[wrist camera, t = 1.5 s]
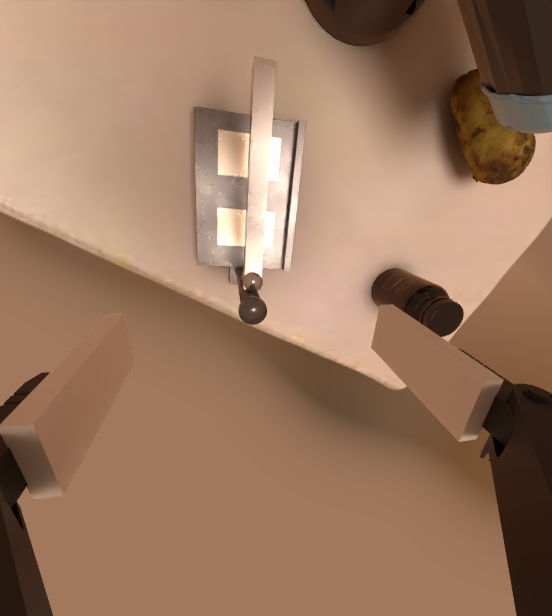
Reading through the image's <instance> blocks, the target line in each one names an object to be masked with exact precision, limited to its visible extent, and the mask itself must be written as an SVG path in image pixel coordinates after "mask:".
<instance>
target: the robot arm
mask: <svg viewBox="0 0 552 616" xmlns="http://www.w3.org/2000/svg"><path fill="white" fill-rule="evenodd" d="M306 2H307V4H308V6H309V8H310V10H311V12H312V13H313V15H314V16H315V18H316V19H317V21H318V22H319V23H320V24H321V26H322V27H323V28H324V29H325V30H326V31H327V32H328V33H330V34H331V35H332V36H334V37H335V38H337V39H338V40H340V41H342V42H345V43H347V44H351V45H356V46H367V45H372V44H376V43H379V42H381V41H383V40H385V39H387V38H389V37H390V36H392V35H393V34H394V33H396V32H397V31H398V30H399V29H400V28H401V27H402V26H403V25H404V24H405V23H407V22H408V21H409V20H410V19H411V18H412V17H413V16H414V14H415V13H416V12H417V11H418V10H419V8H420V7H421V6H422V4H423V3H424V2H425V0H306ZM457 2H458V5H459V9H460V12H461V15H462V18H463V21H464V24H465V28H466V31H467V34H468V37H469V40H470V44H471V47H472V51H473V54H474V58H475V61H476V64H477V68H478V71H479V75H480V86H481V90H482V91H483V93H484V94H485V95H486V96H488V99H489V101H490V104H491V107H492V109H493V112H494V114H495V117H496V119H497V121H498V122H499V124H501V125H502V126H503V127H504V128H506V129H509V130H512V131H518V132H520V133H547V132H552V0H457ZM371 348H372V349H373V350H374V351H375V352H376V353H377V354H378V355H379V356H380V357H381V359H382V360H383V361H384V362H385V363H386V364H387V365H388V366H389V367H390V368H391V369H392V370H393V371H394V372H395V374H396V375H397V376H398V377H399V378H400V379H401V380H402V381H403V382H404V383H405V384H406V385H407V386H408V387H409V389H410V390H411V391H412V392H413V393H414V394H415V395H416V396H417V397H418V398H419V399H420V400H421V401H422V403H423V404H424V405H425V406H426V407H427V408H428V409H429V410H430V411H431V412H432V413H433V414H434V415H435V417H436V418H437V419H438V420H439V421H440V422H441V423H442V424H443V425H444V426H445V427H446V428H447V429H448V431H450V433H451V434H452V435H453V436H454V437H455V438H456V439H457V440H458V441H459V442H460V441H467V440H474V439H477V437H478V435H479V433H480V431H481V428H482V427H484V428H485V429H486V430H487V431H488V432H489V433H490V435H489V437H488V439H487V441H486V444H485V445H484V448H483V450H482V452H481V455H480V457H481V458H484V457H485V455H486V454H488V453H489V457H490V459H489V461H490V462H491V468H492V474H493V480H494V486H495V492H496V497H497V503H498V509H499V515H500V521H501V527H502V532H503V538H504V544H505V550H506V556H507V562H508V568H509V574H510V579H511V585H512V591H513V597H514V603H515V608H516V614H517V616H552V394H551V393H549V392H547V391H545V390H543V389H541V388H538V387H535V386H532V385H528V384H515V385H514V384H512V383H511V382H509V381H508V380H506V379H505V378H503V377H502V376H500V375H499V374H497V373H496V372H494V371H493V370H491V369H490V368H488V367H487V366H486V365H483V363H481V362H480V361H478V360H476V359H474V357H472V356H471V355H469V354H468V353H466V352H465V351H463V350H461V349H458V348H456V347H455V346H453V345H452V344H450V343H449V342H447V341H446V340H444V339H443V338H441V337H440V336H438V335H437V334H436V333H434V332H433V331H431V330H430V329H428V328H427V327H425V326H424V325H422V324H421V323H419V322H418V321H416V320H415V319H413V318H412V317H410V316H409V315H408V314H406V313H405V312H403V311H402V310H400V309H399V308H397V307H396V306H394V305H393V304H390V305H380V308H379V313H378V317H377V322H376V327H375V332H374V337H373V341H372V346H371ZM133 364H134V358H133V354H132V348H131V343H130V339H129V333H128V328H127V324H126V319H125V314H124V313H118V314H106V315H105V316H104V317H103V318H102V319H101V320H100V321H99V323H97V324H96V326H95V327H94V328H93V329H92V330H91V331H90V332H89V333H88V334H87V335H86V336H85V337H84V338H83V339H82V340H81V341H80V342H79V343H78V344H77V345H76V346H75V347H74V348H73V349H72V350H71V351H70V353H69V354H67V356H66V357H65V358H64V359H63V360H62V361H61V362H60V363H59V364H58V365H57V366H56V367H55V368H54V369H53V370H52V371H51V372H47V373H41V374H39V375H37V376H36V377H34V378H32V379H31V380H29V381H27V382H25V383H24V384H23V385H22V386H21V387H20V388H19V389H18V390H17V391H16V392H15V393H14V396H11V397H10V398H9V399H8V400H7V401H6V402H5V403H4V405H2V406H1V407H0V616H53V614H52V610H51V607H50V604H49V601H48V597H47V594H46V591H45V588H44V584H43V581H42V577H41V574H40V571H39V568H38V565H37V561H36V558H35V555H34V551H33V548H32V544H31V541H30V538H29V535H28V531H27V528H26V525H25V522H24V518H23V515H22V512H21V508H20V506H19V505H18V503H17V500H18V498H19V497H20V495H21V494H22V492H23V491H24V489H25V488H26V486H27V488H28V490H29V492H30V494H31V496H32V498H33V500H34V499H41V498H49V497H56V496H63V495H64V494H65V492H66V490H67V488H68V486H69V485H70V482H71V481H72V479H73V477H74V475H75V473H76V471H77V469H78V468H79V466H80V464H81V462H82V460H83V458H84V456H85V455H86V453H87V451H88V449H89V447H90V445H91V443H92V441H93V439H94V437H95V436H96V434H97V432H98V430H99V428H100V426H101V424H102V422H103V421H104V419H105V417H106V415H107V413H108V411H109V409H110V407H111V405H112V404H113V402H114V399H115V398H116V396H117V394H118V392H119V390H120V388H121V387H122V384H123V383H124V381H125V379H126V377H127V375H128V373H129V372H130V370H131V368H132V366H133Z"/></svg>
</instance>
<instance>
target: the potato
mask: <svg viewBox="0 0 552 616" xmlns="http://www.w3.org/2000/svg"><path fill="white" fill-rule="evenodd" d="M449 104H450V109H451V112H452V114H454V117H455V123H454V124H455V129H456V134H457V138H458V142H459V145H460V147H461V150H462V152H463V154H464V156H465V158H466V160H467V162H468V164H469V167H470V169H471V171H472V173H473V179H475V180H476V181H477V182H478V181H480V182H482V183H488V184H503V183H506V182H509V181H511V180H513V179H515V178H516V177H518V176H519V175H520V174H521V173H522V172H524V170H525V168H526V167H527V166H528V165H529V163H530V161H531V159H532V157H533V155H534V151H535V145H536V141H535V136H534V134H533V133H520V132H518V131H512V130H509V129H506V128H504V127H503V126H502V125H501V124H499V122H498V121H497V119H496V117H495V114H494V112H493V109H492V107H491V104H490V101H489V99H488V96H486V95H485V94H484V93H483V91H482V90H481V86H480V75H479V71H478V69H475V70H472V71H469V72H468V73H467V74H464V75H462V76H461V77H459V78H458V79H457V80H456V82H455V84H454V86H453V89H452V92H451V96H450V103H449Z"/></svg>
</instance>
